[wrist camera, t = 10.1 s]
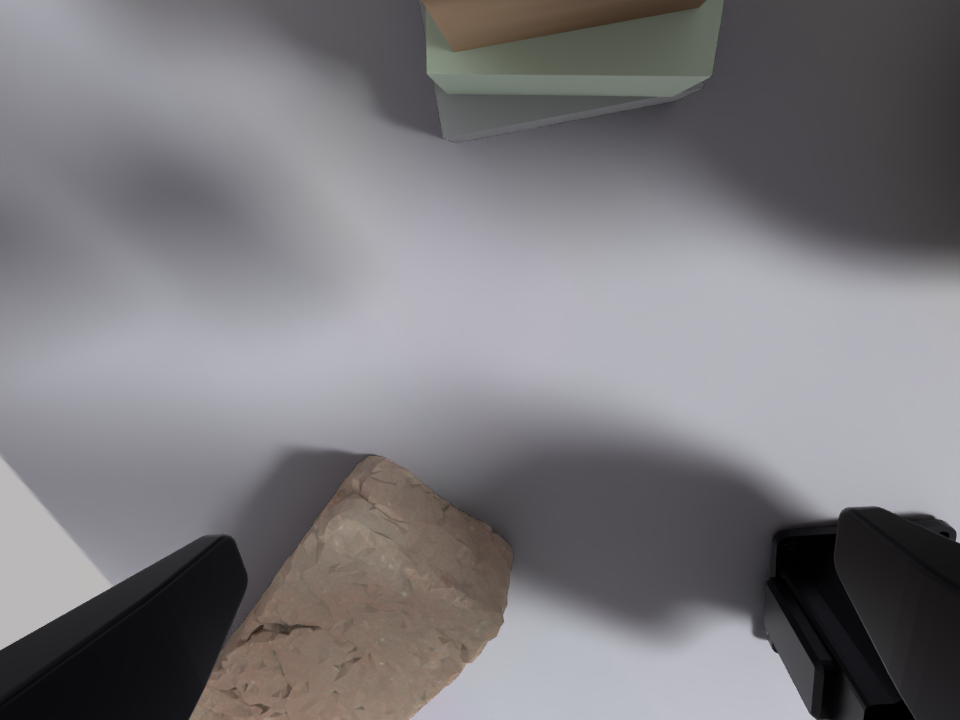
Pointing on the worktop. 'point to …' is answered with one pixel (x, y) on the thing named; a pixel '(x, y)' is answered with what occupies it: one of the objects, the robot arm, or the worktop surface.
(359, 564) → the brick
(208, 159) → the worktop surface
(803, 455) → the worktop surface
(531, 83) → the top block
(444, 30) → the tan rectangular prism
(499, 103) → the base block
